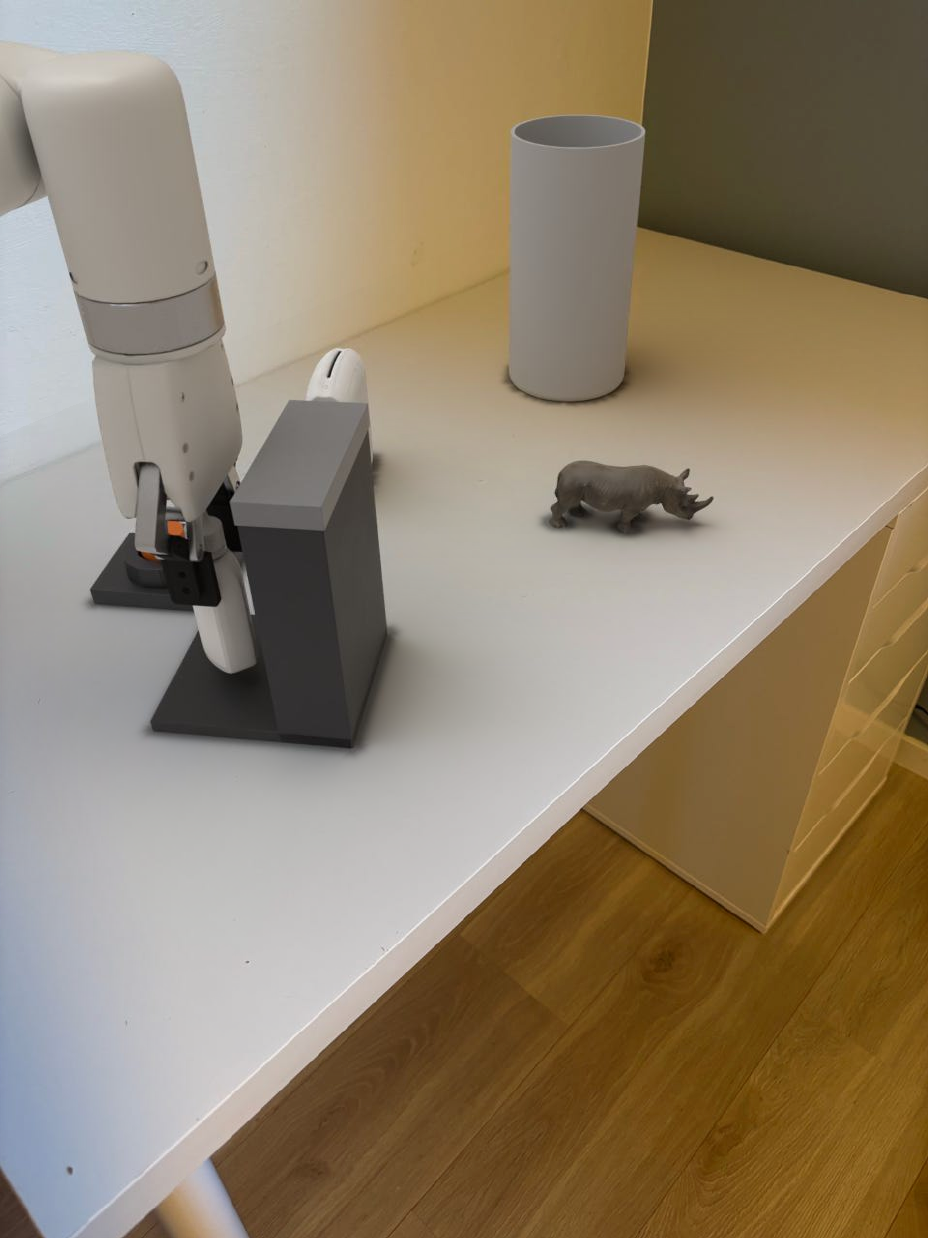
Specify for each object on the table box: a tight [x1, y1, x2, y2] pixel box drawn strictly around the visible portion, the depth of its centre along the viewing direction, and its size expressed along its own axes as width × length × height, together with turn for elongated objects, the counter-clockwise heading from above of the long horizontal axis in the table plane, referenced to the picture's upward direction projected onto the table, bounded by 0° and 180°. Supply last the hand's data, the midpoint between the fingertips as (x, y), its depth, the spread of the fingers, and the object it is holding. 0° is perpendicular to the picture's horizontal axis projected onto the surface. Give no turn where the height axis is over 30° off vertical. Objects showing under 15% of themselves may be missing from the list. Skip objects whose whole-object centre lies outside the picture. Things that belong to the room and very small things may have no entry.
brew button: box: [141, 521, 185, 561], centre depth 79 cm, size 4×4×2 cm
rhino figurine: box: [548, 459, 715, 535], centre depth 85 cm, size 4×14×6 cm, turn 82°
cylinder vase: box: [508, 114, 646, 403], centre depth 101 cm, size 12×12×25 cm
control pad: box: [89, 522, 244, 612], centre depth 81 cm, size 10×8×4 cm
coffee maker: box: [149, 399, 388, 749], centre depth 66 cm, size 14×12×19 cm
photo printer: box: [305, 347, 374, 464], centre depth 89 cm, size 10×4×12 cm, turn 175°
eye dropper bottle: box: [184, 510, 258, 674], centre depth 67 cm, size 4×6×12 cm
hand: (212, 572), depth 66 cm, fingers closed on eye dropper bottle, 5 cm apart
